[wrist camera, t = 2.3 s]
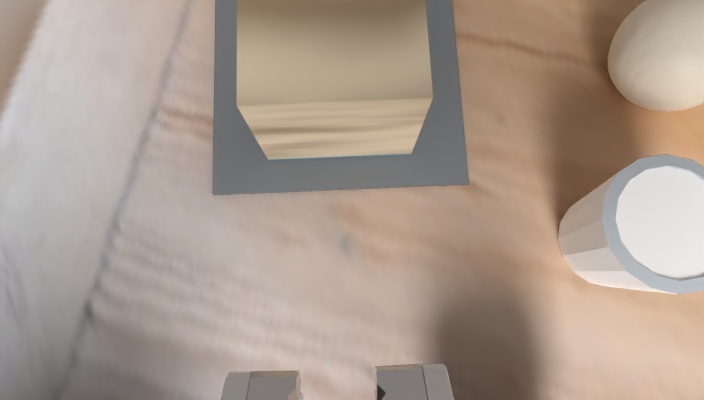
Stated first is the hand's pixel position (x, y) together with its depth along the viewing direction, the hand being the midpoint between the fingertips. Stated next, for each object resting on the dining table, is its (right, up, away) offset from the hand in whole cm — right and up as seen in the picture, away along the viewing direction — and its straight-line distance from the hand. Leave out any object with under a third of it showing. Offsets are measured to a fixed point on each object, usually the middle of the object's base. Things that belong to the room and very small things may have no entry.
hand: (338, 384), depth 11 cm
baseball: (+20, +12, +23) cm, 32 cm away
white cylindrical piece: (+16, +2, +20) cm, 26 cm away
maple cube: (-1, +11, +22) cm, 24 cm away
